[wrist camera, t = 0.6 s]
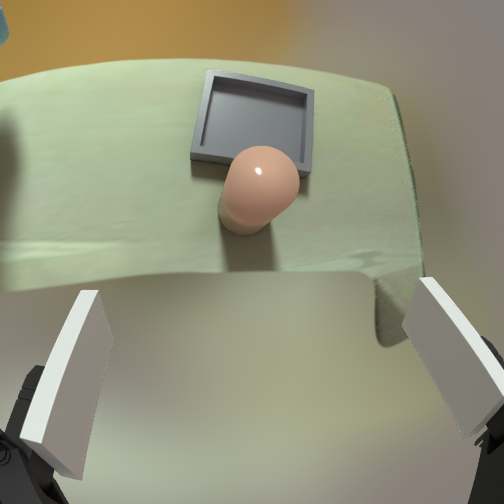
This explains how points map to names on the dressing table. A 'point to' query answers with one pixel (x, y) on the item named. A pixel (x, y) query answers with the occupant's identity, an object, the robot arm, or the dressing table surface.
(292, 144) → the tray
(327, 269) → the dressing table surface
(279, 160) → the peach domed cylinder
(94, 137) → the dressing table surface
